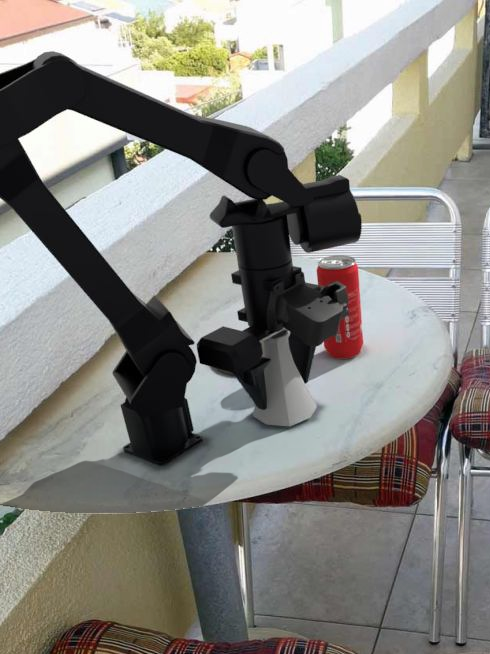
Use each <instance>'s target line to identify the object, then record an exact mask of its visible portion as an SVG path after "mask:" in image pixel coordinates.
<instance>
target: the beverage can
mask: <svg viewBox="0 0 490 654" xmlns="http://www.w3.org/2000/svg"><path fill="white" fill-rule="evenodd" d="M359 275H360V274H359V266H358V264H357V261H356V259H355V257H353V256H351V255H344V254H338V255H335V254H334V255H329V256H326V257H322V258H320V259H319V260H318V262H317V268H316V279H317V285H321V286H327V285H329V284H331V283H332V282H334V281H338V282H340V283H341V284H343V285H345V286H346V290H347V296H348V307H347V309H348V310H349V315H348V316H346V317H345V318H343V319H341V320H340V324H339V329H338V333H337V335H336V336H334V337H330V338H329V339H327V340H325V341H324V342H323V348H324V349H325V351H326V352H327V356H329V357H330V358H332V359H334V360H348V359H353V358H355V357H358V356H359V355H360V354H361V351H362V348H363V345H364V335H363V320H362V319H363V317H362V305H361V291H360V290H361V289H360V276H359Z"/></svg>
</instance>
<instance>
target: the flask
mask: <svg viewBox="0 0 490 654" xmlns="http://www.w3.org/2000/svg"><path fill="white" fill-rule="evenodd" d="M289 336H290V331H288V330H287V329H285V330H283V331H281V332H279V333H278V334H276V335H274V336H272V337H270V338H269V339H267V340H265V341H263V343H264V350H265V358H269V359H271V361H270V363H269V364H268V365H267V366H266V368H265V369H264V375H265V384H266V394H267V409H265V410H261V409H259V408H258V407H257V406H256V405H255V404H254V409H253V413H252V417H254V419H256V420H258V421H259V422H261V423H263V424H264V425H267V426H280V427H292V426H294V425H297V424H299V423H302V422H304V421H306V420H309V419H311V417H312V416H313V414H314V412H315V411H316V409H317V408H318V405H317V403H316V401H315V399H314V397H313V395H312V394H311V392H310V390H309V388H308V387H307V385H306V384H305V383H304V381H303V379H302V377H301V375H300V373H299V371H298V369H297V367H296V365H295V363H294V361H293V358H292V355H291V351H290V348H289V341H288V337H289Z"/></svg>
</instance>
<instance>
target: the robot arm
mask: <svg viewBox="0 0 490 654" xmlns="http://www.w3.org/2000/svg"><path fill="white" fill-rule="evenodd" d="M66 111H73V112H75V113H77V114H80V115H82V116H83V117H87V118H89V119H92V120H95V121H96V122H99V123H102V124H104V125H107V126H109V127H112V128H115V129H116V130H119V131H121V132H124V133H125V134H127V135H131V136H133V137H135V138H138V139H141V140H143V141H145V142H148V143H150V144H153V145H155V146H158V147H160V148H162V149H165V150H167V151H170V152H172V153H174V154H177V155H180V156H182V157H184V158H186V159H189V160H190V161H192V162H194V163H195V164H197V165H199V166H200V167H202V168H203V169H205V170H206V171H208V172H209V173H211V174H213V175H214V176H216V177H217V178H219V179H220V180H222V181H223V182H225V183H226V184H228V185H229V186H231V187H232V188H234V189H236V190H237V191H239V192H240V193H242V194H244V195H245V196H247V197H248V198H250V199H246V200H240V201H236V202H235V201H233V200H232V199H231V198H229V196H227V195H222V196H221V197H220V200H219V202H218V203H217V205H215V207H214V208H213V209H212V210H211V212H210V213H209V219H210V220H211V221H212V222H214V223H215V224H216V225H217V226H219V227H220V228H222V229H225V228H229V227H231V229H232V234H233V241H234V248H235V255H236V261H237V267H238V268H237V269H238V270H236V271H234V272H231V274H230V275H231V282H232V284H234V285H240V286H241V294H242V300H243V305H244V307H243V308H241V309H239V310H237V311H236V313H237V319H238V321H239V322H240V321H241V322H245V323H247V326H248V327H247V328H245V329H243V330H240V329H235V328H232V327H228V326H224V325H223V326H221V327H219V328H217V329H215V330H213V331H211V332H210V333H207V334H205V335H203V336H201V337H200V339H199V340H198V342H197V343H196V352H197V356H198V361H199V364H200V365H204V366H207V367H211V368H215V369H217V368H218V369H221V370H225V371H228V372H232V374H233V375H232V376H234V378H235V379H236V380H237V381H238V382H239V384H240V385H241V387H242V389H244V391H245V392H246V393H247V395H248V396H249V398H250V399H251V400H252V402H253V403H254V406H255V405H256V406H257V407H258V408H259V409H261V410H265V409H267V394H266V384H265V375H264V369H265V368H266V366H267V365H268V364H269V363H270V361H271V359H269V358H265V357H262V354H263V351H262V344H261V343H262V342H263V341H265V340H267V339H269V338H270V337H272V336H274V335H276V334H278V333H279V332H281V331H283V330H285V329H287V330H288V331H290V336H289V337H288V341H289V348H290V351H291V355H292V358H293V361H294V363H295V365H296V367H297V369H298V371H299V373H300V375H301V377H302V379H303V381H304V383H305V385H306V384H308V383H309V380H310V374H311V370H312V365H313V361H314V356H315V353H316V349H317V347H319V346H321V345H322V344H324V341H325V340H327V339H329V338H330V337H334V336H336V335H337V333H338V329H339V324H340V320H341V319H343V318H345V317H346V316H348V315H349V310H348V309H347V307H348V296H347V290H346V286H345V285H343V284H341V283H340V282H338V281H334V282H332V283H331V284H329V285H327V286H321V285H318V284H317V283H316V284H315V283H311V282H306V279H305V278H306V277H305V272H304V271H303V270H302V267H300V266H296V265H294V263H293V255H292V247H291V242H292V243H293V244H294V245H295V246H299V245H300V247H301V249H302V250H303V251H304V252H305V253H307V254H310V253H314V252H319V251H324V250H328V249H333V248H338V247H342V246H347V245H351V244H356V243H357V242H359V240H360V238H361V236H362V228H363V226H362V225H363V224H362V223H363V222H362V220H363V219H362V215H361V213H360V212H359V208H358V204H357V201H356V199H355V196H354V194H353V193H352V190H351V186H350V180H349V179H348V177H345V176H343V175H341V174H338V175H337V174H336V175H332V176H328V177H326V178H325V179H322V180H316V181H312V182H311V181H310V182H306V183H302V181H300V180H299V179H298V178H297V177H296V175H295V174H294V173H293V172H292V170H291V169H289V160H288V157H287V153H286V151H285V148H284V146H283V145H282V144H281V143H280V142H279V141H277V140H276V139H275V138H274V137H271V136H269V135H268V134H265V133H263V132H261V131H259V130H257V129H256V128H255V129H254V128H253V127H251V126H248V125H243V124H239V123H235V122H230V121H225V120H222V119H217V118H213V117H212V118H211V117H206V116H202V115H201V116H200V115H197V114H192V113H189V112H187V111H185V110H182V109H180V108H178V107H176V106H173V105H171V104H169V103H167V102H164V101H162V100H160V99H158V98H155V97H153V96H151V95H149V94H146V93H144V92H141V91H140V90H137V89H135V88H133V87H130V86H128V85H126V84H123V83H121V82H119V81H117V80H115V79H113V78H110V77H108V76H106V75H103V74H101V73H99V72H97V71H94V70H92V69H90V68H87V67H85V66H83V65H82V64H79V63H78V62H77V61H75V60H74V59H73V58H70V57H69V56H67V55H65V54H63V53H62V52H58V51H54V50H52V51H50V50H49V51H45V52H42V53H41V54H39V55H37V57H36V58H34V59H32V60H30V61H28V62H26V63H24V64H21V65H19V66H16V67H13V68H11V69H8V70H5V71H3V72H0V200H1V201H3V202H4V203H5V204H7V205H8V206H9V207H10V208H11V209H12V210H13V211H14V212H15V214H17V216H18V217H19V218H20V219H21V220H22V222H23V223H24V224H25V225H26V226H27V227H28V229H29V230H30V231H31V232H32V233H33V234H34V235H35V236H36V238H37V239H38V240H39V241H40V243H42V245H43V246H44V247H45V248H46V249H47V251H48V252H49V253H50V254H51V255H52V256H53V257H54V259H55V260H56V261H57V262H58V263H59V264H60V266H61V267H62V268H63V269H64V270H65V272H66V273H67V274H68V275H69V277H71V278H72V279H73V281H74V282H75V284H77V286H78V287H80V289H81V290H82V291H83V292H84V293H85V295H86V296H87V297H88V299H90V300H91V301H92V303H93V304H94V305H95V306H96V308H97V309H99V311H100V312H101V313H102V314H103V316H104V317H105V318H106V319H107V321H108V322H109V324H110V326H111V327H112V329H113V330H114V333H115V334H116V336H117V337H118V339H119V341H120V342H121V344H122V346H123V348H124V349H125V352H124V353H123V355H122V357H121V358H120V360H119V361H118V362H117V364H116V366H114V369H113V370H112V372H111V373H112V376H113V377H114V380H115V381H116V383H117V384H118V386H119V387H120V389H121V390H122V392H123V394H124V396H125V399H124V402H123V403H121V404H120V409H121V413H122V417H123V420H124V424H125V428H126V432H127V436H128V439H129V443H127V444H126V445H124V446H123V447H122V449H123V452H124V453H125V454H128V455H130V456H134V457H136V458H138V459H141V460H144V461H146V462H149V463H152V464H155V465H157V466H161V467H162V466H166V465H167V464H169V463H170V462H172V461H174V460H176V459H177V458H179V457H180V456H181V455H184V454H185V453H186V452H188V451H190V450H191V449H193V448H194V447H196V446H197V445H199V444H200V443H202V442H203V441H204V440H203V436H202V435H200V434H196V433H193V432H194V426H193V425H194V424H193V420H192V415H191V410H190V406H189V400H188V399H187V398H186V391H187V385H188V383H189V382H190V381H191V380H192V378H193V377H194V375H195V372H196V369H197V368H196V367H197V363H198V361H197V356H196V354H195V353H194V351H193V349H192V348H191V346H194V345H195V340H193V338H192V337H191V336H190V335H189V334H188V333H187V331H186V330H185V329H184V328H183V327H182V325H181V324H180V323H179V322H178V321H177V320H176V319H175V317H174V316H173V314H172V312H171V311H170V310H169V309H168V308H167V306H166V305H165V304H164V303H163V302H162V301H161V300H160V298H159V297H158V296H157V295H156V294H154V295H152V297H151V298H150V299H149V301H148V302H147V303H146V302H145V301H144V300H142V298H140V297H138V295H136V294H135V293H134V292H133V291H132V290H131V289H130V288H129V287H128V285H127V284H126V283H125V282H124V280H123V279H122V278H121V276H119V274H118V273H117V272H116V271H115V269H114V268H113V267H112V266H111V264H110V263H109V261H108V260H106V258H105V257H104V256H103V255H102V254H101V252H100V251H99V250H98V249H97V247H96V246H95V245H94V244H93V242H92V241H91V240H90V238H89V237H88V236H87V235H86V233H85V232H84V231H83V230H82V229H81V227H80V226H79V225H78V224H77V223H76V221H75V220H74V219H73V217H71V215H70V214H69V213H68V212H67V210H66V209H65V208H64V207H63V205H62V203H60V202H59V200H58V199H57V198H56V197H55V195H54V194H53V192H51V191H50V189H49V188H48V187H47V185H46V184H45V183H44V182H43V180H42V179H41V176H40V175H39V173H38V171H37V170H36V168H35V166H34V164H33V163H32V160H31V159H30V157H29V155H28V152H27V150H26V149H25V148H24V146H23V144H22V143H21V141H20V139H21V138H24V137H25V136H27V135H28V134H30V133H32V132H33V131H35V130H36V129H38V128H39V127H41V126H42V125H44V124H46V123H47V122H48V121H50V120H51V119H53V118H54V117H56V116H58V115H59V114H61V113H63V112H66ZM271 197H274V198H276V199H278V200H279V201H278V202H273V203H266V201H264V200H268V199H269V198H271ZM218 369H217V370H218Z"/></svg>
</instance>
